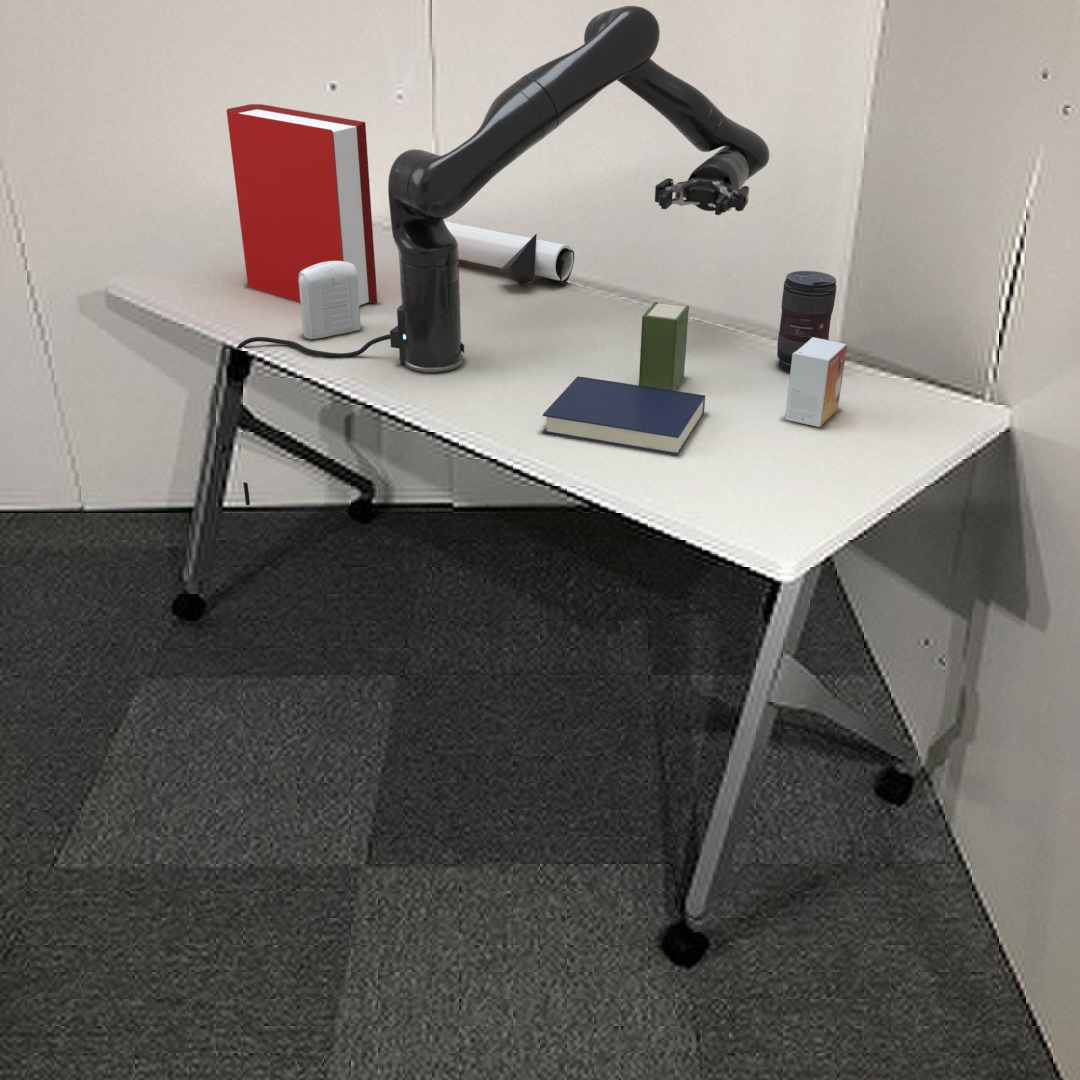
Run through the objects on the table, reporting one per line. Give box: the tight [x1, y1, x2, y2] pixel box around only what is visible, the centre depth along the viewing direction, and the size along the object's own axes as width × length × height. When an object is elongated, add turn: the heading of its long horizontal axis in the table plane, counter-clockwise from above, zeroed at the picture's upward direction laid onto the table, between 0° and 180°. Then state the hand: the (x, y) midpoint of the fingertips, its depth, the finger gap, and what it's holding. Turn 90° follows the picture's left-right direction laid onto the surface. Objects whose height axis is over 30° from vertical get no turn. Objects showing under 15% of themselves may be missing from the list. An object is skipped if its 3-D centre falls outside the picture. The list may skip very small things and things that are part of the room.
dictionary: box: [638, 300, 690, 391], centre depth 185 cm, size 5×7×12 cm
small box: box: [784, 337, 848, 428], centre depth 175 cm, size 8×6×10 cm
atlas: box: [542, 375, 706, 457], centre depth 174 cm, size 20×15×3 cm
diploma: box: [444, 220, 575, 286], centre depth 233 cm, size 35×9×14 cm
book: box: [226, 103, 378, 306], centre depth 216 cm, size 27×8×32 cm, turn 54°
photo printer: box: [299, 261, 362, 340], centre depth 203 cm, size 10×4×12 cm, turn 123°
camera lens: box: [776, 270, 838, 374], centre depth 190 cm, size 8×8×15 cm
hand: (690, 205), depth 184 cm, fingers open, 8 cm apart
